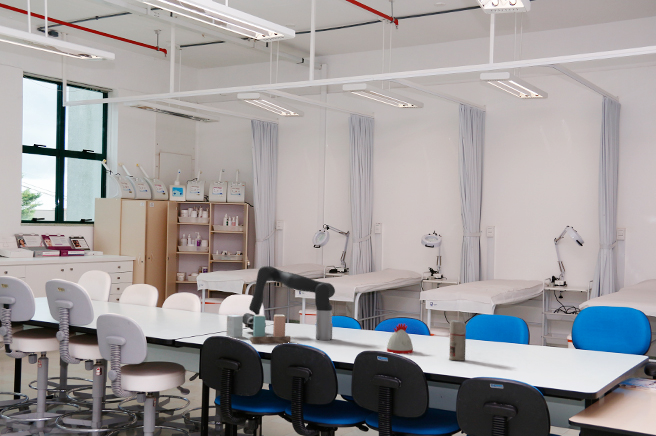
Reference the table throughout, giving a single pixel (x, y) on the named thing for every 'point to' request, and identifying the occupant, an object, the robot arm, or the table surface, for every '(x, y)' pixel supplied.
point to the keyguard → (270, 339)
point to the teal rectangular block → (259, 326)
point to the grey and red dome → (400, 341)
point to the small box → (234, 325)
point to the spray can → (457, 340)
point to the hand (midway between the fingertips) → (257, 326)
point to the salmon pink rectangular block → (279, 325)
